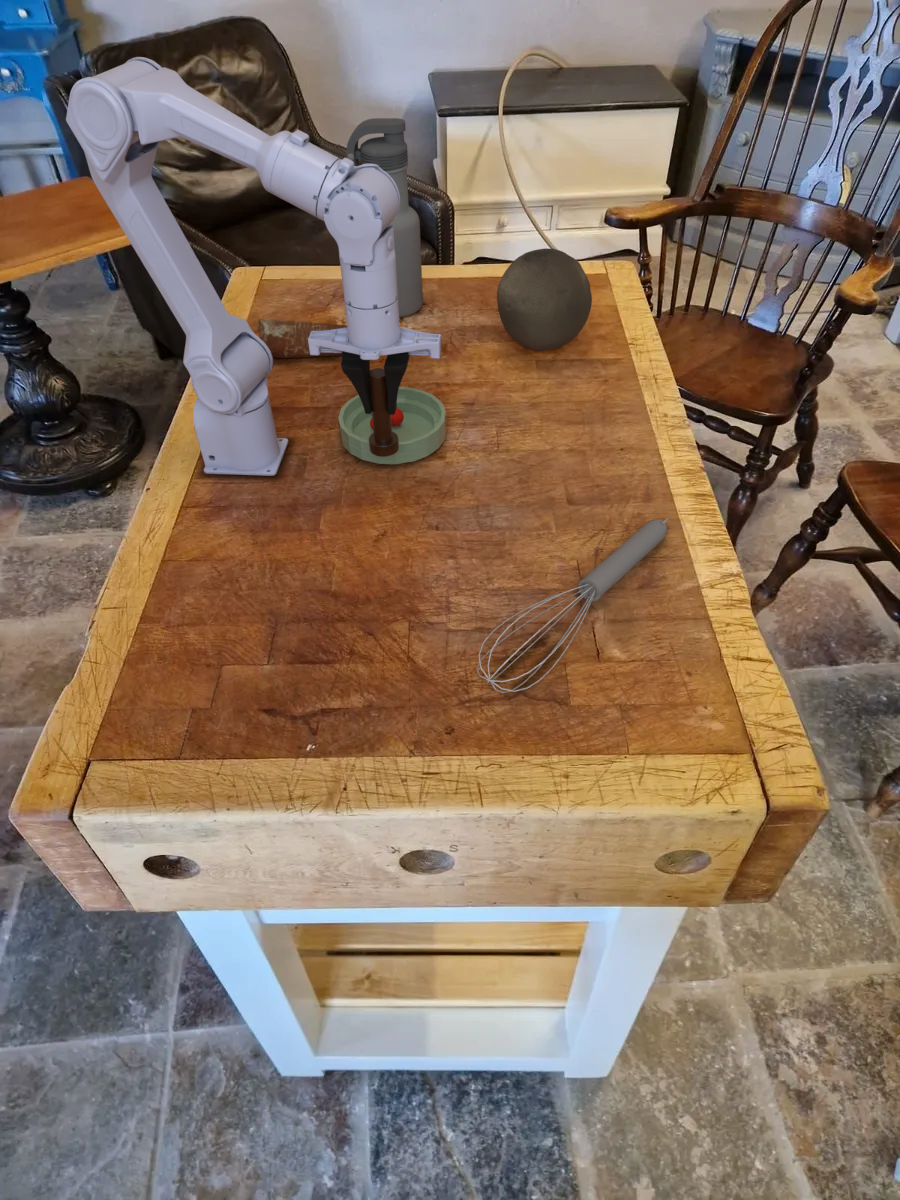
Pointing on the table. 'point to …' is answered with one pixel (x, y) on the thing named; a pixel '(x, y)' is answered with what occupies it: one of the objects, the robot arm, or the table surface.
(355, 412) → the bowl
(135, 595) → the table surface
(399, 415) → the tomato
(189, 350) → the robot arm
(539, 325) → the dark grey ball
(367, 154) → the water bottle
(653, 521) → the kitchen whisk
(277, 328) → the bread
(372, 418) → the tomato
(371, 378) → the stirrer
